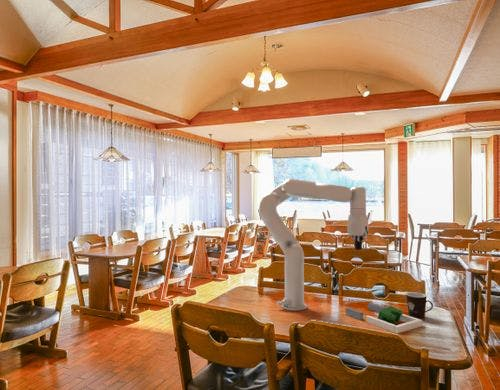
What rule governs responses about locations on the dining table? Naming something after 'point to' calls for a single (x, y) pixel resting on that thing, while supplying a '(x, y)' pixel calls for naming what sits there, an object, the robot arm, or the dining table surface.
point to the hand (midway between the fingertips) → (358, 249)
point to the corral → (403, 327)
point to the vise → (359, 314)
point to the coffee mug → (417, 304)
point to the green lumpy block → (390, 315)
